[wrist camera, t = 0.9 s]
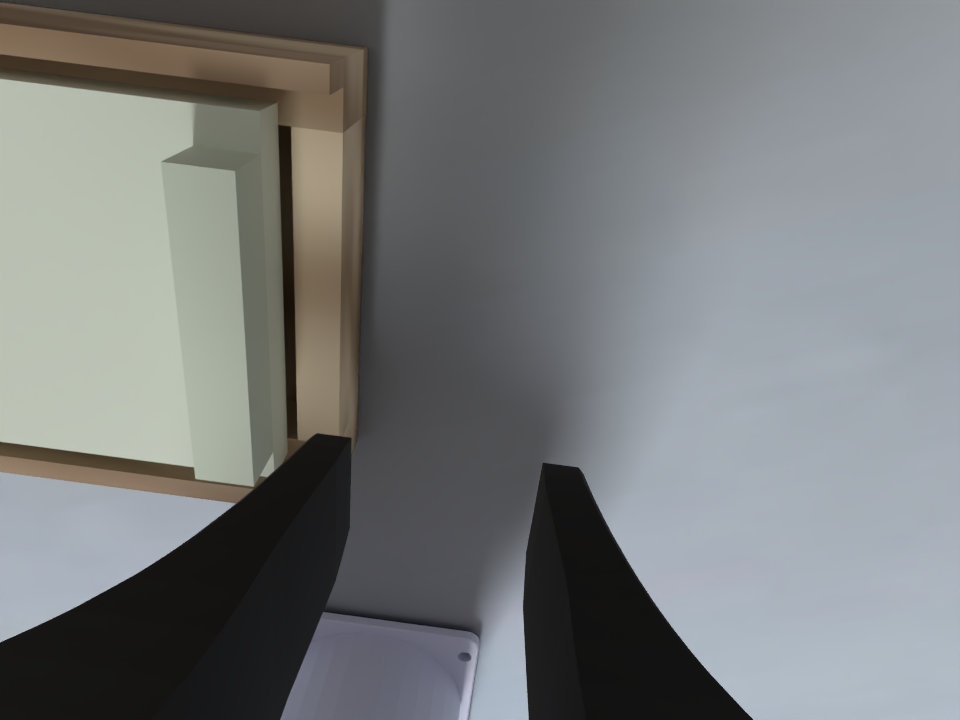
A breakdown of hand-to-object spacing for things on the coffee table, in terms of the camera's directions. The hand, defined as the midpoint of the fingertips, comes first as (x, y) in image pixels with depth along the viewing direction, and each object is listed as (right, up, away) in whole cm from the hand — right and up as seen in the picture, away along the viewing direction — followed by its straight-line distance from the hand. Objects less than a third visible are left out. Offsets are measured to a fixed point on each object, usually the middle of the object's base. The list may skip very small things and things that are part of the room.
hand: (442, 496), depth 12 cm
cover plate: (-10, +5, +6) cm, 13 cm away
